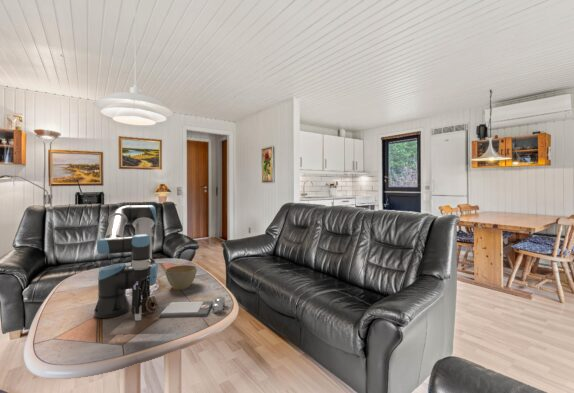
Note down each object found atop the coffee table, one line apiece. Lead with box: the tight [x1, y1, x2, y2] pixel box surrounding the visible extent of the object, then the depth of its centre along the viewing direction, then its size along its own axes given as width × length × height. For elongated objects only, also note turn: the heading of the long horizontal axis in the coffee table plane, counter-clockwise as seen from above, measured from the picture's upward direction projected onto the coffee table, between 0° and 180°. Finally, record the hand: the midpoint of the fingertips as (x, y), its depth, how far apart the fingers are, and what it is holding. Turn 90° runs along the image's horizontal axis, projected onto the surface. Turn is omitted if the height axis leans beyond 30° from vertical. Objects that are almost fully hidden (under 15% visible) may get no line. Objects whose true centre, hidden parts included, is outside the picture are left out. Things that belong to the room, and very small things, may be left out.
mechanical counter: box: [131, 295, 160, 318], centre depth 130 cm, size 7×13×10 cm, turn 93°
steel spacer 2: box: [212, 301, 224, 315], centre depth 137 cm, size 5×5×4 cm
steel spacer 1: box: [214, 296, 226, 308], centre depth 144 cm, size 5×5×4 cm
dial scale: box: [158, 300, 214, 318], centre depth 139 cm, size 22×15×2 cm
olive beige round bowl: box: [165, 264, 198, 291], centre depth 171 cm, size 18×18×12 cm
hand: (141, 316), depth 130 cm, fingers closed on mechanical counter, 6 cm apart
